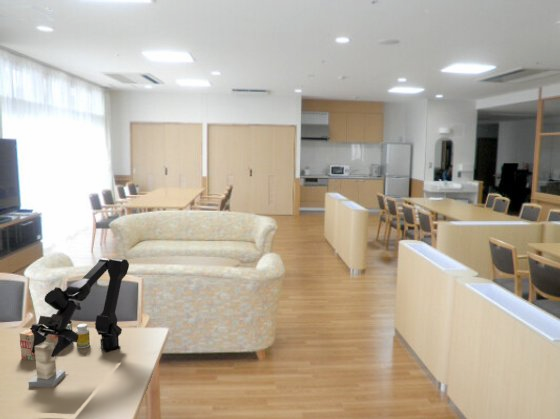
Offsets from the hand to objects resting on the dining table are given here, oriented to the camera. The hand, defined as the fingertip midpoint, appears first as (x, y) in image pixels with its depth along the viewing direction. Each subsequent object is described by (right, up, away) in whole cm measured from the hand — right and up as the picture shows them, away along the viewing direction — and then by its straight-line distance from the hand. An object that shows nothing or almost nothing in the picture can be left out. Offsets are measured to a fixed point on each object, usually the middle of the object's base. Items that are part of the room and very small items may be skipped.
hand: (42, 354), depth 172 cm
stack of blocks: (-12, -8, +30) cm, 34 cm away
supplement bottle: (0, -7, +36) cm, 37 cm away
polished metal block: (0, -9, +2) cm, 9 cm away
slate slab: (+1, -11, +3) cm, 11 cm away
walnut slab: (+1, -13, +3) cm, 13 cm away
